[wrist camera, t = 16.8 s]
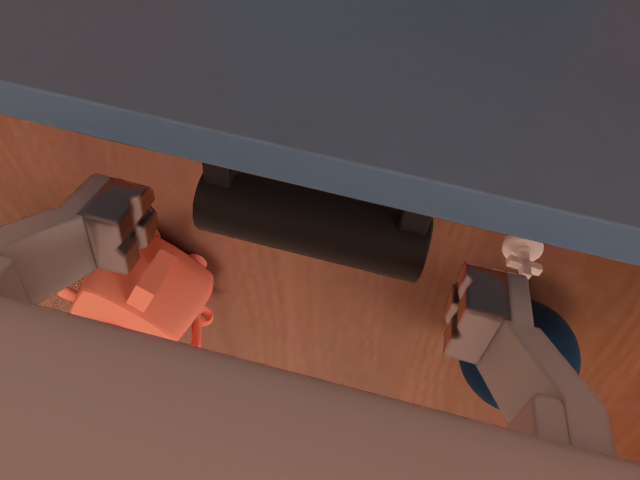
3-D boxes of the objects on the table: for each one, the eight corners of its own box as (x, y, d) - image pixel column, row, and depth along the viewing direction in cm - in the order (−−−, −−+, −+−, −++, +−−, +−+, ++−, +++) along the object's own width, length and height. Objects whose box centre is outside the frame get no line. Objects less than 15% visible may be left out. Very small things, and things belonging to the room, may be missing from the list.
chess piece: (494, 120, 30) (500, 225, 23) (573, 145, 30) (604, 259, 22) (460, 183, 33) (456, 292, 26) (531, 205, 33) (547, 321, 26)
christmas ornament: (545, 261, 36) (563, 379, 29) (588, 330, 39) (613, 451, 32) (440, 293, 40) (433, 402, 33) (487, 353, 44) (490, 463, 37)
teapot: (136, 301, 51) (82, 382, 44) (84, 210, 44) (10, 290, 37) (239, 310, 48) (199, 399, 41) (203, 214, 41) (146, 302, 34)
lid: (-140, 48, 9) (-25, 236, 13) (817, 270, 8) (631, 408, 11) (186, -122, 19) (197, 14, 22) (635, -38, 17) (567, 92, 21)
